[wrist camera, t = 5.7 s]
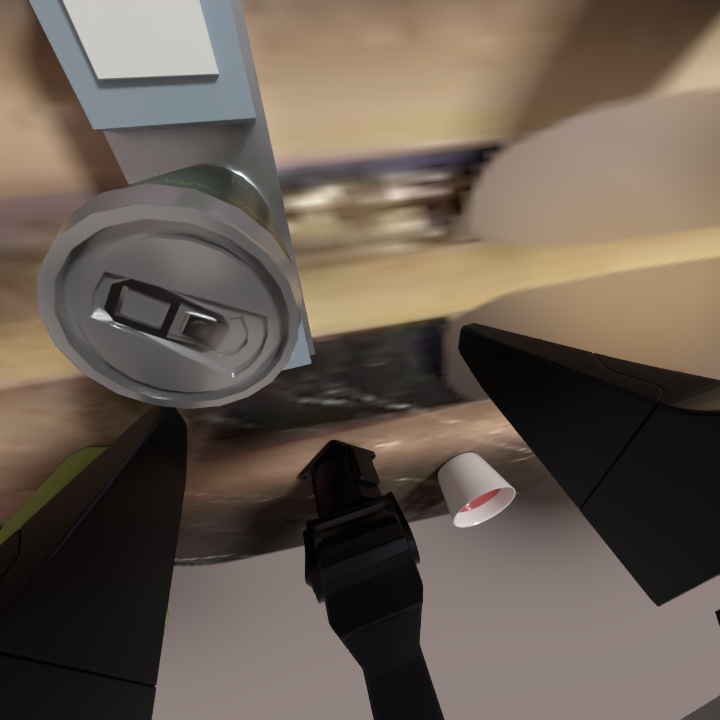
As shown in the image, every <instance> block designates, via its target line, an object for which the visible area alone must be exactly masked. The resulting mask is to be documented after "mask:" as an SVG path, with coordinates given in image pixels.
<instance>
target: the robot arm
mask: <svg viewBox="0 0 720 720" xmlns="http://www.w3.org/2000/svg"><path fill="white" fill-rule="evenodd" d="M458 347H459V352H460V354H461V356H462V357H463V359H464V360H465V362H466V364H467V365H468V367H469V368H470V370H471V372H472V373H473V375H474V376H475V378H476V379H477V381H478V383H479V384H480V386H481V387H482V388H483V390H484V391H485V392H486V394H487V395H488V396H489V397H490V399H491V400H492V401H493V402H494V404H495V405H496V406H497V407H498V409H499V410H500V411H501V412H502V414H503V415H504V416H505V417H506V419H507V420H508V421H509V422H510V424H511V425H512V426H513V427H514V429H515V430H516V431H517V432H518V434H519V435H520V436H521V437H522V439H523V440H524V441H525V442H526V444H527V445H528V446H529V447H530V449H531V450H532V451H533V452H534V454H535V455H536V456H537V457H538V459H539V460H540V461H541V462H542V464H543V465H544V466H545V467H546V469H547V470H548V471H549V472H550V474H551V475H552V476H553V477H554V479H555V480H556V481H557V482H558V484H559V485H560V486H561V487H562V488H563V490H564V491H565V492H566V494H567V495H568V496H569V497H570V499H571V500H572V501H573V502H574V504H575V505H576V506H577V507H578V508H579V509H580V511H581V512H582V514H583V515H584V516H585V518H586V519H587V520H588V521H589V523H590V524H591V525H592V526H593V528H594V529H595V530H596V531H597V533H598V534H599V535H600V536H601V538H602V539H603V540H604V541H605V543H606V544H607V545H608V546H609V548H610V549H611V550H612V551H613V553H614V554H615V555H616V557H617V558H618V559H619V560H620V561H621V563H622V564H623V565H624V566H625V568H626V569H627V570H628V571H629V573H630V574H631V575H632V577H633V578H634V579H635V580H636V581H637V583H638V584H639V585H640V586H641V588H642V589H643V590H644V592H645V593H646V594H647V595H648V596H649V598H650V599H651V600H652V601H653V602H654V603H655V604H656V605H657V606H661V605H663V604H665V603H667V602H669V601H671V600H672V599H674V598H676V597H678V596H680V595H682V594H684V593H686V592H688V591H690V590H692V589H693V588H696V587H697V586H699V585H701V584H703V583H705V582H707V581H709V580H711V579H713V578H715V577H717V576H720V380H717V379H712V378H708V377H703V376H697V375H693V374H688V373H683V372H678V371H673V370H668V369H663V368H658V367H653V366H649V365H644V364H640V363H635V362H630V361H626V360H622V359H617V358H613V357H609V356H605V355H601V354H597V353H594V354H593V353H592V352H589V351H585V350H581V349H576V348H573V347H568V346H565V345H561V344H556V343H553V342H548V341H545V340H541V339H537V338H533V337H528V336H525V335H520V334H516V333H512V332H508V331H504V330H500V329H496V328H492V327H488V326H484V325H480V324H476V323H472V324H468V325H464V326H463V327H462V328H461V330H460V339H459V346H458ZM374 458H375V453H374V452H373V451H370V450H366V449H363V448H360V447H357V446H353V445H350V444H347V443H344V442H340V441H337V440H333V441H331V442H330V443H329V444H328V445H327V446H326V447H325V448H324V449H323V450H322V451H321V453H320V454H319V455H318V456H317V457H316V458H315V459H314V460H313V461H312V462H311V463H310V464H309V466H308V467H307V468H306V469H305V470H304V471H303V472H302V473H301V474H300V479H301V480H302V481H307V482H312V484H313V490H314V495H315V501H316V506H317V512H318V518H317V519H314V520H312V519H311V520H308V521H306V525H307V529H306V530H305V531H304V532H303V537H304V544H305V580H306V584H307V585H309V586H310V587H312V588H313V591H314V593H315V594H316V597H317V600H318V603H319V604H320V603H322V602H325V604H326V610H327V615H328V620H329V624H330V626H331V627H332V629H333V630H334V632H335V633H336V634H337V636H338V637H339V638H340V640H341V641H342V642H343V643H344V645H345V646H346V648H347V649H348V650H349V652H350V653H351V654H352V655H353V657H354V658H355V660H356V661H357V662H358V663H359V665H360V666H361V667H362V669H363V672H364V676H365V681H366V685H367V690H368V695H369V700H370V704H371V709H372V714H373V718H374V720H444V717H443V714H442V711H441V708H440V705H439V702H438V699H437V696H436V693H435V690H434V687H433V684H432V681H431V678H430V675H429V672H428V668H427V665H426V662H425V660H424V656H423V653H422V650H421V647H420V642H419V641H420V627H421V611H422V603H423V584H422V580H421V578H420V575H419V572H418V569H417V566H416V564H419V563H420V558H419V553H418V549H417V546H416V542H415V539H414V537H413V534H412V532H411V529H410V527H409V525H408V523H407V521H406V519H405V517H404V515H403V513H402V511H401V509H400V507H399V505H398V503H397V501H396V499H395V497H394V495H393V493H392V491H391V492H388V493H387V494H386V495H383V496H382V495H381V492H380V489H379V487H378V484H379V483H380V482H379V478H378V475H377V473H376V470H375V468H374V465H373V462H372V460H373V459H374ZM186 467H187V426H186V423H185V421H184V419H183V418H182V416H181V415H180V414H179V412H178V411H177V409H176V408H175V407H165V406H156V405H155V406H153V407H151V408H150V409H149V410H148V411H147V412H146V413H145V414H144V415H143V416H142V417H140V418H139V419H138V420H137V421H136V422H135V423H134V424H133V425H132V426H131V427H129V428H128V429H127V430H126V431H125V432H124V433H123V434H122V435H121V436H119V437H118V438H117V439H116V440H115V441H114V442H113V443H112V444H111V445H110V446H108V447H107V448H106V449H105V450H104V451H103V452H102V453H101V454H100V455H99V456H97V457H96V458H95V459H94V460H93V461H92V462H91V463H90V464H89V465H88V466H86V467H85V468H84V469H83V470H82V471H81V472H80V473H79V474H78V475H77V476H75V477H74V478H73V479H72V480H71V481H70V482H69V483H68V484H67V485H66V486H64V487H63V488H62V489H61V490H60V491H59V492H58V493H57V494H56V495H55V496H53V497H52V498H51V499H50V500H49V501H48V502H47V503H46V504H45V505H44V506H42V507H41V508H40V509H39V510H38V511H37V512H36V513H35V514H34V515H33V516H31V517H30V518H29V519H28V520H27V521H26V522H25V523H24V524H23V525H22V526H21V529H17V530H16V531H15V532H14V533H13V534H11V535H10V536H9V537H8V538H7V539H6V540H5V541H4V542H3V543H2V544H1V545H0V720H152V713H153V706H154V699H155V692H156V687H155V685H156V683H157V676H158V670H159V663H160V656H161V649H162V642H163V635H164V628H165V621H166V614H167V608H168V601H169V594H170V587H171V580H172V573H173V566H174V559H175V552H176V545H177V539H178V532H179V525H180V518H181V511H182V504H183V497H184V490H185V483H186ZM715 613H716V615H717V619H718V622H719V625H720V609H719V610H717V611H715ZM681 720H720V696H718V697H717V698H715V699H713V700H712V701H710V702H709V703H707V704H705V705H704V706H702V707H700V708H699V709H697V710H696V711H694V712H692V713H691V714H689V715H688V716H686V717H684V718H683V719H681Z"/></svg>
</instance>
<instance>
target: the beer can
mask: <svg viewBox="0 0 720 720" xmlns="http://www.w3.org/2000/svg"><path fill="white" fill-rule="evenodd" d="M37 295H38V312H39V314H40V316H41V318H42V320H43V322H44V324H45V326H46V328H47V330H48V332H49V334H50V336H51V338H52V340H53V342H54V344H55V346H56V347H57V348H58V349H59V350H60V351H61V352H62V353H63V354H64V355H65V356H66V357H67V358H68V359H69V360H70V361H71V362H72V363H73V364H74V365H75V366H76V367H77V368H78V369H79V370H80V371H81V372H82V373H83V374H84V375H86V376H88V377H89V378H91V379H93V380H95V381H96V382H98V383H100V384H102V385H103V386H105V387H107V388H108V389H110V390H112V391H114V392H115V393H117V394H120V395H123V396H126V397H129V398H132V399H135V400H139V401H142V402H145V403H148V404H151V405H156V406H165V407H175V408H184V409H193V408H203V407H213V406H221V405H224V404H227V403H231V402H234V401H237V400H240V399H243V398H246V397H249V396H250V395H252V394H253V393H255V392H257V391H258V390H260V389H261V388H263V387H264V386H266V385H268V384H269V383H271V382H272V381H273V380H274V379H275V377H276V376H277V375H278V374H279V373H280V372H281V371H282V369H283V368H284V367H285V366H286V365H287V364H288V362H289V360H290V358H291V355H292V353H293V350H294V348H295V345H296V343H297V341H298V329H299V326H300V324H301V309H302V293H301V290H300V287H299V283H298V280H297V277H296V273H295V270H294V267H293V264H292V262H291V259H290V257H289V254H288V252H287V250H286V247H285V245H284V243H283V240H282V238H281V236H280V233H279V231H278V229H277V226H276V224H275V222H274V219H273V217H272V215H271V212H270V210H269V207H268V205H267V204H266V202H265V201H264V199H263V198H262V196H261V195H260V193H259V191H258V190H257V189H256V188H255V187H254V186H253V185H252V184H250V183H249V182H248V181H247V180H246V179H245V178H244V177H243V176H241V175H239V174H237V173H235V172H233V171H231V170H229V169H227V168H225V167H221V166H214V165H208V164H201V165H196V166H191V167H186V168H182V169H179V170H176V171H172V172H169V173H166V174H162V175H159V176H156V177H152V178H149V179H146V180H142V181H139V182H135V183H132V184H129V185H125V186H122V187H119V188H115V189H112V190H109V191H105V192H102V193H100V194H99V195H98V196H96V197H95V198H93V199H92V200H90V201H89V202H87V203H86V204H85V205H83V206H82V207H80V208H79V209H77V210H76V211H74V212H73V213H71V214H70V215H69V216H67V217H66V219H65V221H64V223H63V225H62V227H61V229H60V231H59V232H58V234H57V236H56V238H55V240H54V241H53V243H52V245H51V247H50V249H49V251H48V253H47V255H46V257H45V259H44V261H43V263H42V265H41V267H40V268H39V270H38V272H37Z"/></svg>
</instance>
